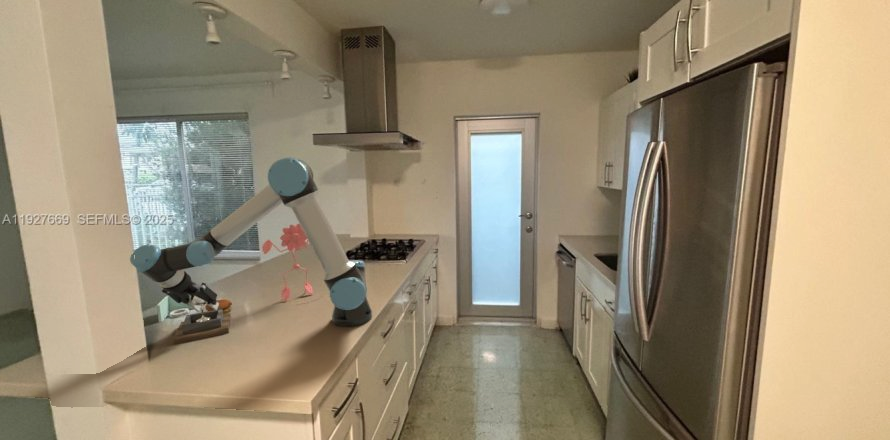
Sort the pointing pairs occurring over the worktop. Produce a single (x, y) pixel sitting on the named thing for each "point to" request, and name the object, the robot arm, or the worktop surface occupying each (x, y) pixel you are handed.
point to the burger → (221, 306)
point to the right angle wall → (172, 308)
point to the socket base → (203, 326)
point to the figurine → (293, 240)
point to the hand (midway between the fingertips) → (208, 307)
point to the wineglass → (200, 302)
